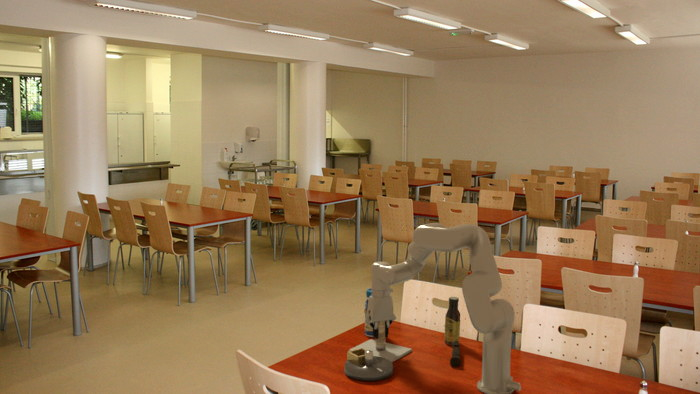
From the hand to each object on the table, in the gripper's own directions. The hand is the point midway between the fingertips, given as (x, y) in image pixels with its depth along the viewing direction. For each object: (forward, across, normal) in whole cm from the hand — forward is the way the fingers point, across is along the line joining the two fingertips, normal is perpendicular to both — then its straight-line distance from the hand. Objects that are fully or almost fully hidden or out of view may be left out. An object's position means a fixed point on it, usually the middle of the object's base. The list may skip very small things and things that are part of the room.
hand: (380, 336), depth 251 cm
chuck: (+6, +13, +17) cm, 22 cm away
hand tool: (+7, -24, +18) cm, 30 cm away
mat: (+6, 0, 0) cm, 6 cm away
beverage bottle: (+7, -7, -20) cm, 22 cm away
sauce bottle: (+7, -32, +3) cm, 33 cm away
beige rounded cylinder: (+5, 0, 0) cm, 5 cm away
